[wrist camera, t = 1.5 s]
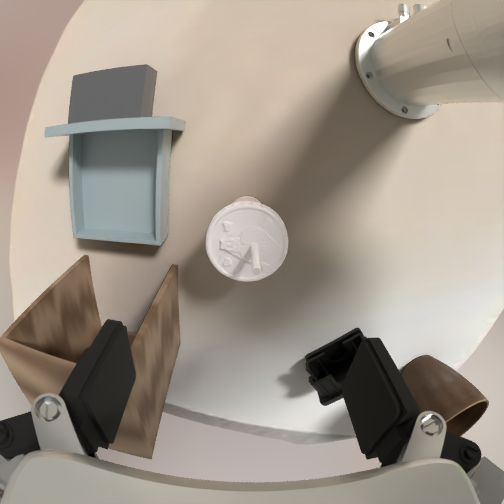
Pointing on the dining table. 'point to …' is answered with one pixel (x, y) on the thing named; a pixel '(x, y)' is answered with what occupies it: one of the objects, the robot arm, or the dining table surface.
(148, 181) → the tray
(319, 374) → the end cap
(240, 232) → the smoothie
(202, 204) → the dining table surface
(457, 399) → the plant pot
